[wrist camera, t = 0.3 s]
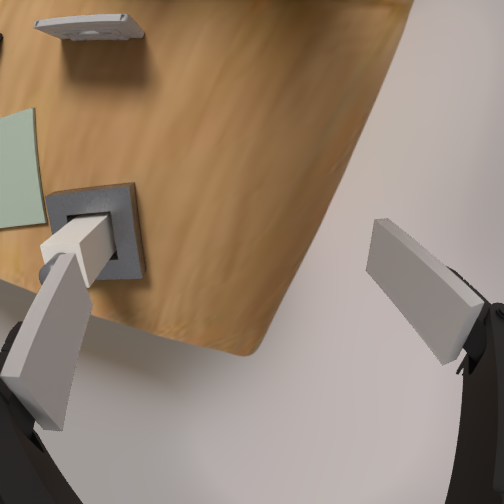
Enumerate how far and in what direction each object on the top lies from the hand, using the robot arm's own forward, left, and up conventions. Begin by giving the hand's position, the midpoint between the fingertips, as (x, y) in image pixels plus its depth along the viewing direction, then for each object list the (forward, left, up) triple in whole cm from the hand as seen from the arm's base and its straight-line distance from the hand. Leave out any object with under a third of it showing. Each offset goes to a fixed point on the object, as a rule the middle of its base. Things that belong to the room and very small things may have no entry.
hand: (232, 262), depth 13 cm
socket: (+7, -17, -26) cm, 32 cm away
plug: (+7, -17, -26) cm, 32 cm away
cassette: (-19, -15, -27) cm, 36 cm away
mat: (-3, -33, -26) cm, 43 cm away
